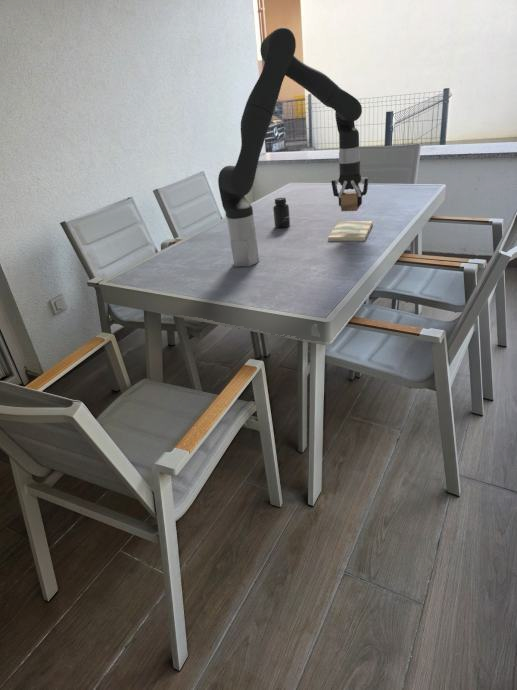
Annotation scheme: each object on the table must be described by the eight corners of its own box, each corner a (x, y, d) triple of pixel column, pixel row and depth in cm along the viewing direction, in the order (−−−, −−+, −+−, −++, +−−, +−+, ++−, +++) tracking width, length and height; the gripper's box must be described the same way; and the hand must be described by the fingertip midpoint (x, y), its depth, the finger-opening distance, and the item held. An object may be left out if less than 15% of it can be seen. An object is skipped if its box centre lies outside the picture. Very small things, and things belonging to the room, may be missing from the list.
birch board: (364, 240, 166) (364, 236, 165) (328, 241, 171) (327, 237, 170) (372, 224, 181) (372, 220, 181) (338, 225, 187) (338, 221, 186)
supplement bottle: (289, 228, 192) (286, 200, 186) (273, 229, 194) (270, 201, 187) (291, 223, 198) (288, 196, 192) (276, 224, 199) (273, 197, 193)
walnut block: (356, 210, 168) (356, 194, 165) (341, 211, 170) (340, 195, 167) (359, 206, 173) (359, 190, 170) (344, 207, 175) (343, 191, 172)
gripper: (327, 163, 162) (330, 210, 171) (367, 161, 157) (367, 208, 166) (332, 160, 168) (334, 204, 177) (370, 157, 163) (370, 203, 171)
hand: (350, 206), depth 171 cm, fingers closed on walnut block, 6 cm apart
